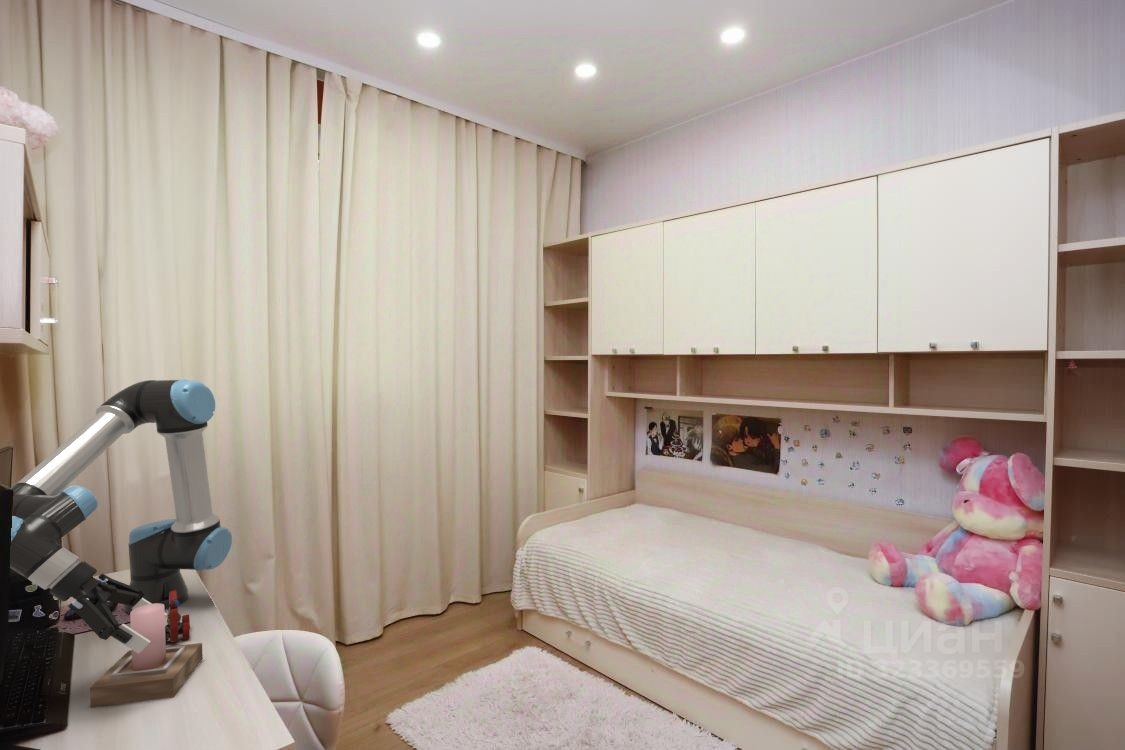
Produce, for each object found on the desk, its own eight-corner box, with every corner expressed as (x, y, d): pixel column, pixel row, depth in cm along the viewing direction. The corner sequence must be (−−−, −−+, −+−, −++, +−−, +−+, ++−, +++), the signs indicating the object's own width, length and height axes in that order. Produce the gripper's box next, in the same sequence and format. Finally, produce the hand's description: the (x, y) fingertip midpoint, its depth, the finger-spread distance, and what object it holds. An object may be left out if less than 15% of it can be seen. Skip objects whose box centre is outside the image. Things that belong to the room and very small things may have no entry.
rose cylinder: (140, 658, 127) (138, 604, 127) (171, 655, 128) (169, 602, 128) (126, 672, 121) (124, 616, 121) (158, 669, 122) (156, 613, 122)
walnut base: (129, 667, 131) (128, 646, 131) (202, 659, 134) (202, 639, 134) (90, 707, 116) (89, 683, 116) (173, 697, 119) (172, 674, 119)
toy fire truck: (156, 652, 138) (154, 609, 137) (157, 632, 148) (156, 592, 147) (190, 644, 141) (189, 602, 141) (189, 624, 152) (188, 585, 151)
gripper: (73, 569, 129) (155, 622, 135) (19, 615, 106) (120, 676, 112) (101, 542, 131) (181, 596, 137) (54, 582, 108) (152, 644, 114)
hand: (154, 632), depth 125 cm, fingers open, 13 cm apart
